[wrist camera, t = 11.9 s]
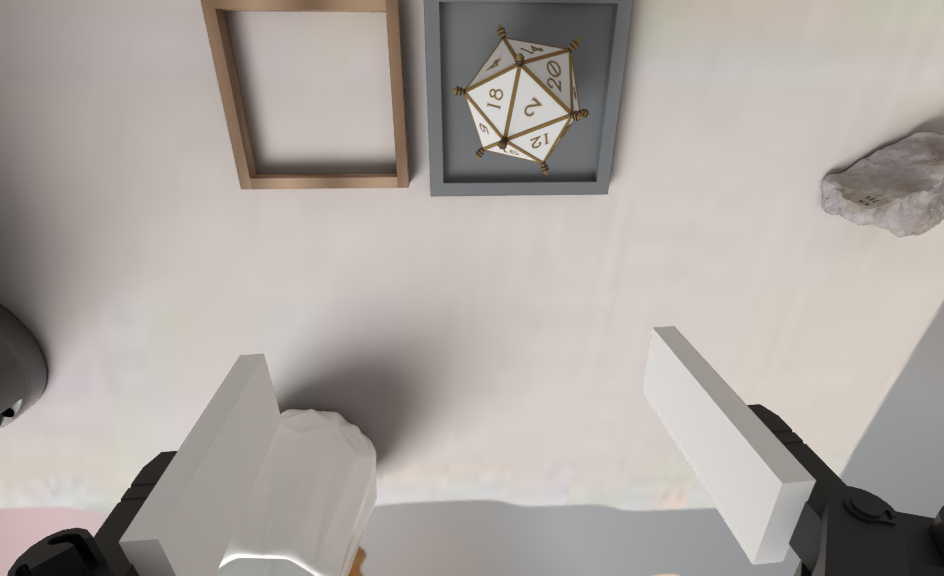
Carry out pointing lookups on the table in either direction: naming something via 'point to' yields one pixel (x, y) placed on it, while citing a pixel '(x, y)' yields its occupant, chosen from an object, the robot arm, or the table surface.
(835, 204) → the stone
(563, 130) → the game die
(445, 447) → the table surface
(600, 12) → the tray
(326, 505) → the vase
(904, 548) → the robot arm
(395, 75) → the corral
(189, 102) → the table surface
